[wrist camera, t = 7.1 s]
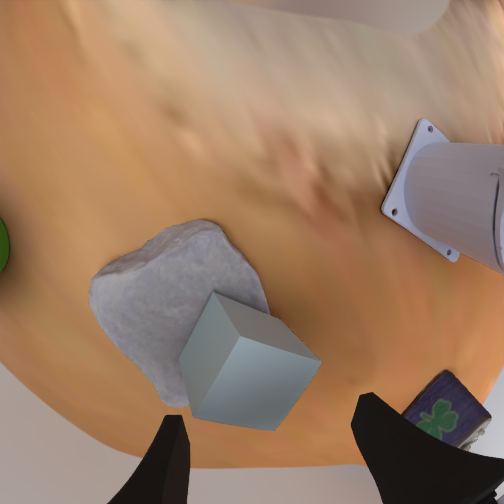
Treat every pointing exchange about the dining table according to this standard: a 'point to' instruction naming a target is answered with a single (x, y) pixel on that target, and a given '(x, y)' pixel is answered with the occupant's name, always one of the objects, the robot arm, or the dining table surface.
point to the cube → (244, 366)
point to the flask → (448, 412)
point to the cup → (3, 246)
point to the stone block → (170, 297)
